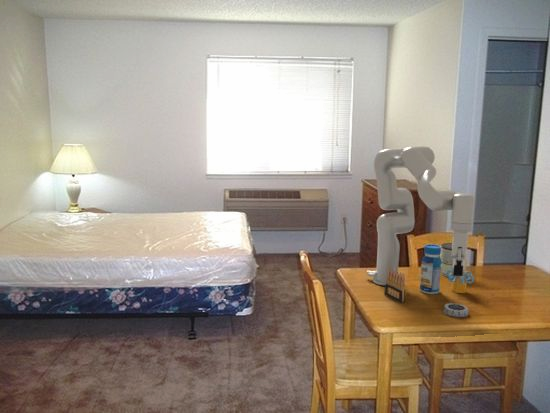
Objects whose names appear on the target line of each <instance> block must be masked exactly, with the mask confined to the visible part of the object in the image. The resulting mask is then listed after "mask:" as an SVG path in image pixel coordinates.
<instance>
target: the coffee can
mask: <svg viewBox="0 0 550 413" xmlns="http://www.w3.org/2000/svg"><path fill="white" fill-rule="evenodd" d="M440 247H441V254H440V258H441V261H442V264H441V267H442V270H441V274H440V276H444V277H447V278H448V276H447V271H448V270H452V263H453V257H452V256H451V255H452V242H444V243H442V244H441V245H440ZM451 273H452V271H450V272H449V275H450V274H451ZM451 277H452V276H451Z"/></svg>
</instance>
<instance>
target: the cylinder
mask: <svg viewBox="0 0 550 413" xmlns="http://www.w3.org/2000/svg"><path fill="white" fill-rule="evenodd" d="M467 259H468V257H466V260H465V273H464V278H454V277H451V276H452V273H451V274H450V275H449V272H450V271H452V270H448V271H447V276H448V277H447V276H446V277H447V278H448V281H449V283H451V291H452V292H453V293H457V294H465V293H467V286H468V284H470V285H471V284H473V283H475V278H474V275H473V274H472V272H471V271H470V270H466V269H467ZM468 276H469V277H468ZM467 277H468V278H467ZM470 280H471V281H470Z"/></svg>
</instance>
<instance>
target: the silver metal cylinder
mask: <svg viewBox="0 0 550 413" xmlns="http://www.w3.org/2000/svg"><path fill="white" fill-rule="evenodd" d="M455 257H456V256H455ZM455 257H454V256H453V263H452V277H454V278H464V273H465V260H466V258H467V256H466V255H465V258H463V276H455V275H454V265H455ZM457 257H458V255H457ZM461 257H462V256H461ZM457 260H458V259H457ZM461 260H462V259H461ZM456 265H457V263H456Z"/></svg>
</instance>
